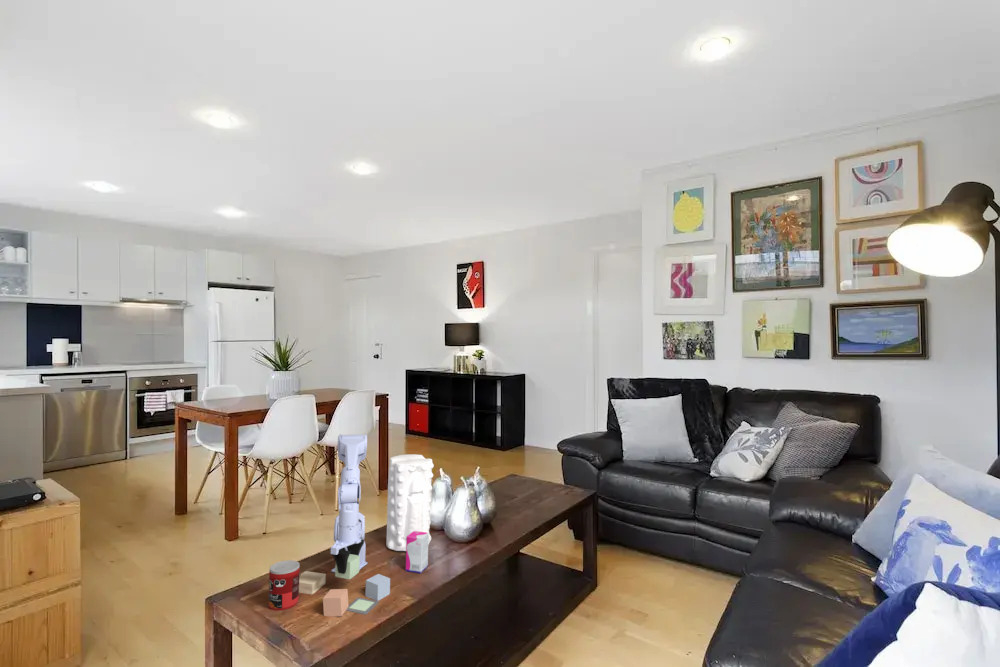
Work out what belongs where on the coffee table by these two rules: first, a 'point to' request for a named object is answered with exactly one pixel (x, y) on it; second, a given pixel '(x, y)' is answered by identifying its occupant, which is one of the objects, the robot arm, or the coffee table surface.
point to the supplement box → (417, 551)
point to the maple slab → (311, 582)
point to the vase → (408, 498)
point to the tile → (362, 606)
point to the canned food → (284, 585)
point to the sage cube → (350, 567)
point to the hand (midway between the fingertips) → (347, 568)
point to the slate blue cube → (377, 587)
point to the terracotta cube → (335, 602)
